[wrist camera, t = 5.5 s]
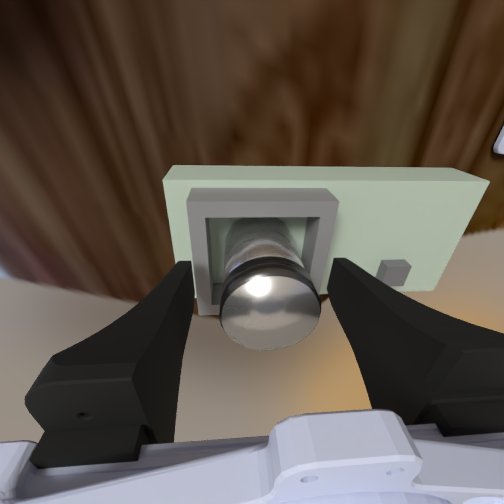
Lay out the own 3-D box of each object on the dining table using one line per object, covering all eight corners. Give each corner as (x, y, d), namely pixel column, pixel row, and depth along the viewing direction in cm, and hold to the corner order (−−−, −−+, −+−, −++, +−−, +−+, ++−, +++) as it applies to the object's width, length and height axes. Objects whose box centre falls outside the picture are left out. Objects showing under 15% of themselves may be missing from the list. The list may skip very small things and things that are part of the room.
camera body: (451, 167, 17) (524, 193, 13) (408, 266, 21) (453, 310, 17) (173, 165, 16) (152, 192, 11) (187, 271, 20) (175, 320, 16)
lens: (296, 211, 15) (332, 276, 10) (288, 271, 17) (313, 350, 12) (222, 211, 14) (217, 278, 9) (223, 272, 16) (220, 353, 11)
